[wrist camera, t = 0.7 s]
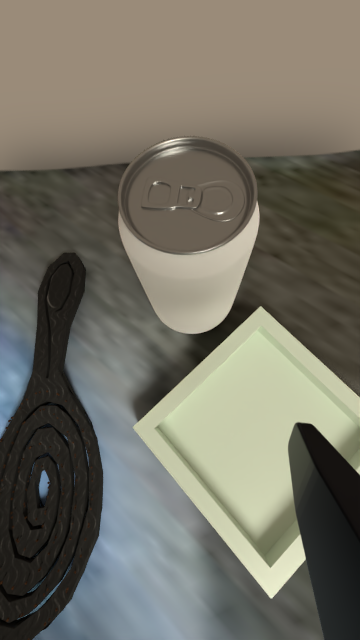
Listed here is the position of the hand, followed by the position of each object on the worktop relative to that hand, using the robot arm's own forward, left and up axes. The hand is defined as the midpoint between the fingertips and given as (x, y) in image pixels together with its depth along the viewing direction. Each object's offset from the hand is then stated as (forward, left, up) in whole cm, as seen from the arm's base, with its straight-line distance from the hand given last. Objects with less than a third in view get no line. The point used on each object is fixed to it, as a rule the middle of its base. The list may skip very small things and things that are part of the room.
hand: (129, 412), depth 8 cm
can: (+5, -7, -13) cm, 16 cm away
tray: (-5, -3, -13) cm, 15 cm away
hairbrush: (+6, +6, -14) cm, 16 cm away
